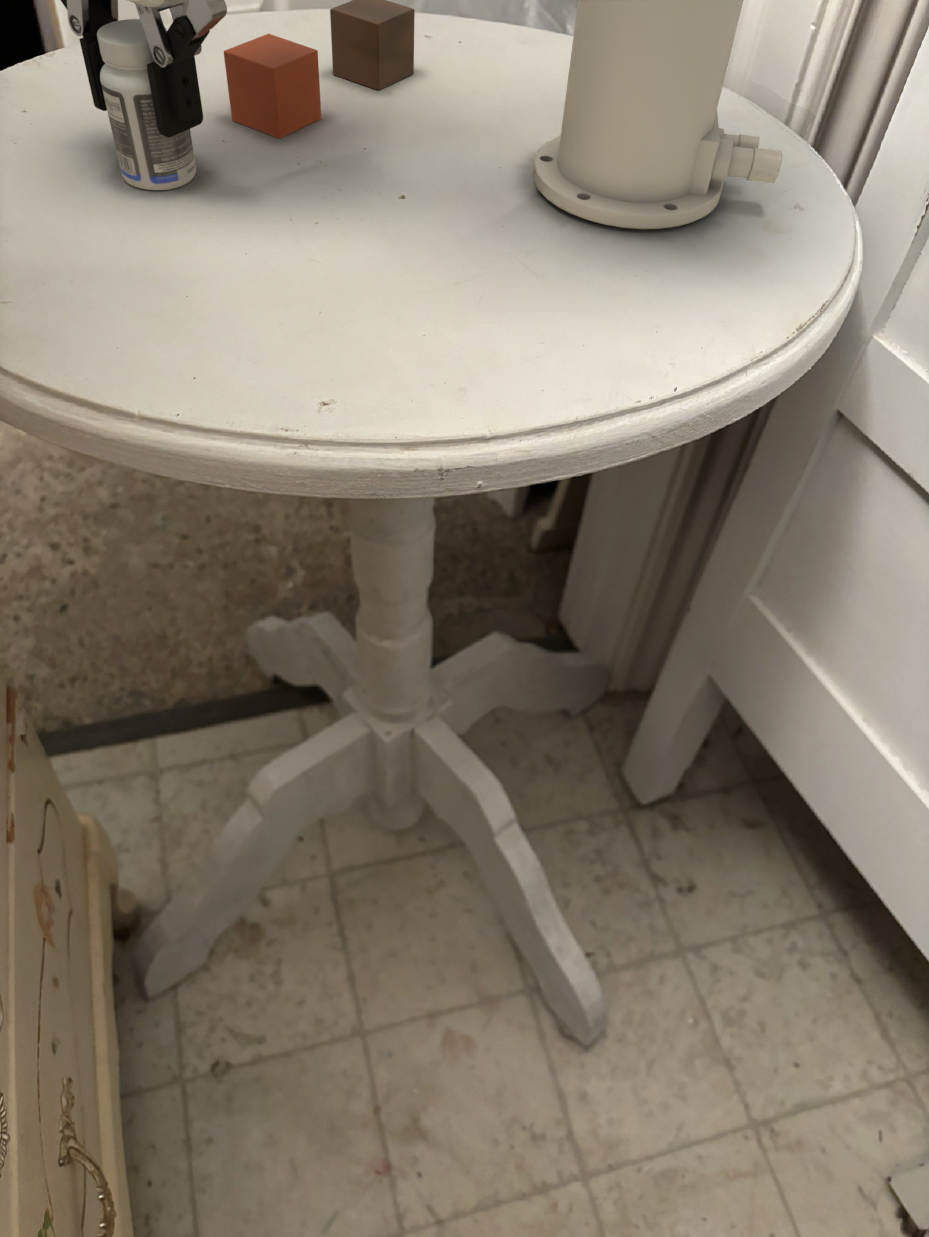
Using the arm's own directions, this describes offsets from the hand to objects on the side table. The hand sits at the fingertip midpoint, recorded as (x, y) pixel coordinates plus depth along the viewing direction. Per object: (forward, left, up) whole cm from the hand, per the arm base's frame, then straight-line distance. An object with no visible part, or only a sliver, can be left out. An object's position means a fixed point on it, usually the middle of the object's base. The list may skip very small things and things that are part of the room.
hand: (148, 113), depth 59 cm
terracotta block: (-5, -10, -4) cm, 12 cm away
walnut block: (-10, -20, -4) cm, 23 cm away
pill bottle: (0, 0, -4) cm, 4 cm away
